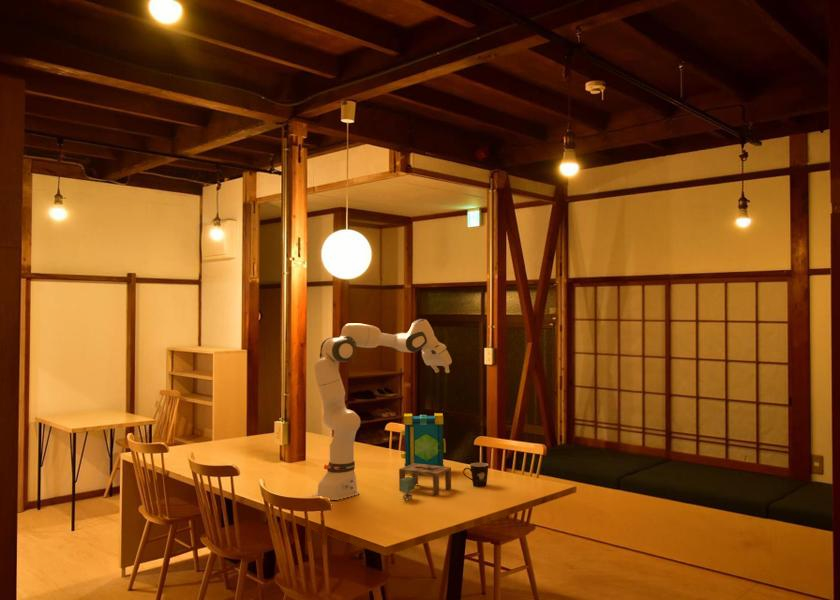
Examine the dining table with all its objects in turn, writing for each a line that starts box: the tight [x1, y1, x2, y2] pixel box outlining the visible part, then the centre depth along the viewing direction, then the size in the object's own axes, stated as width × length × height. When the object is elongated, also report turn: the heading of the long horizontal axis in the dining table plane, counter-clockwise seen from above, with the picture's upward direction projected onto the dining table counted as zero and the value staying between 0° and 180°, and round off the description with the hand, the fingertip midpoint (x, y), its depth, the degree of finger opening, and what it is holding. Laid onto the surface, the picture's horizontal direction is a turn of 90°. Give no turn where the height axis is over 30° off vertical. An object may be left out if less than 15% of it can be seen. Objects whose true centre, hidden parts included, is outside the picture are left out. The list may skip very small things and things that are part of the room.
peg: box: [400, 476, 416, 500], centre depth 302 cm, size 6×4×9 cm, turn 150°
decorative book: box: [400, 412, 447, 476], centre depth 353 cm, size 14×23×30 cm, turn 90°
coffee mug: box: [462, 462, 489, 488], centre depth 325 cm, size 12×9×10 cm
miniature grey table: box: [398, 463, 452, 496], centre depth 318 cm, size 20×14×10 cm
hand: (442, 372), depth 343 cm, fingers open, 8 cm apart
